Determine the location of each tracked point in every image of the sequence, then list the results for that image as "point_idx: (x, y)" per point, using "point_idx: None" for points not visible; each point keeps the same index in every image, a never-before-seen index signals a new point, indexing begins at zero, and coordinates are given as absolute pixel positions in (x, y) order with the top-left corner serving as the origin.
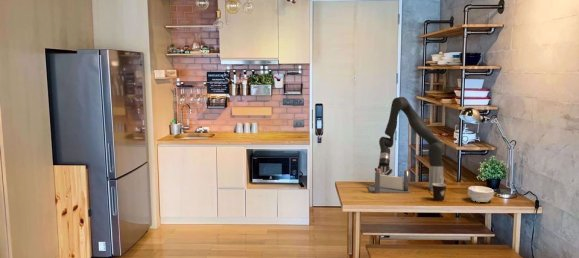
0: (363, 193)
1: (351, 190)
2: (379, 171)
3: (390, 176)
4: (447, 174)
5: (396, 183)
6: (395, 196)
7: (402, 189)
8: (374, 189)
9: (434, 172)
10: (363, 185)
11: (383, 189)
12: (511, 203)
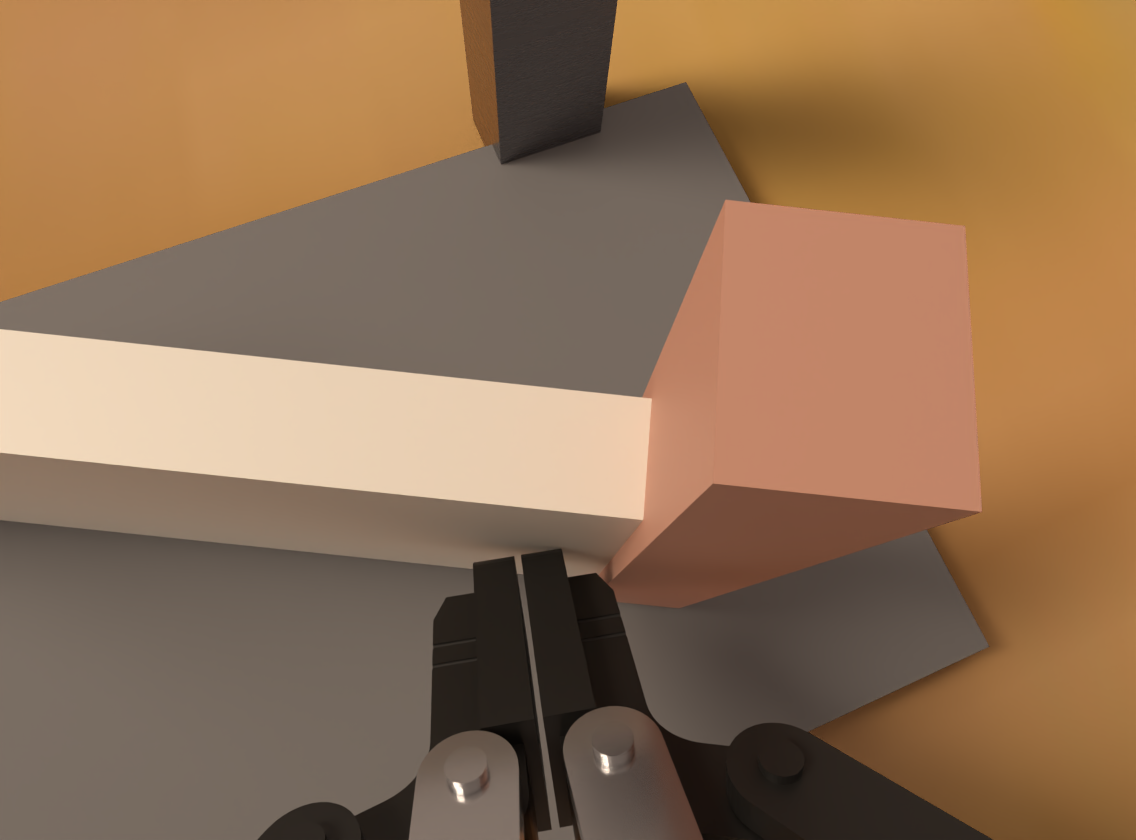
0: (788, 6)
1: (1117, 128)
2: (689, 319)
3: (35, 334)
4: None
5: None
6: (94, 25)
7: None
8: (650, 264)
9: None
10: (1132, 743)
11: (433, 356)
12: None
